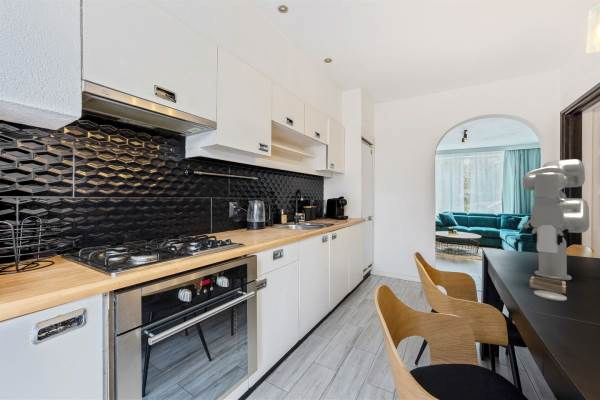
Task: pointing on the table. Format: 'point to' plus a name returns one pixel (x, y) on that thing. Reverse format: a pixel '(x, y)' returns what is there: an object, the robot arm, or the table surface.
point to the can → (547, 239)
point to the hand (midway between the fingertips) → (547, 243)
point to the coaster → (550, 295)
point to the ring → (548, 284)
